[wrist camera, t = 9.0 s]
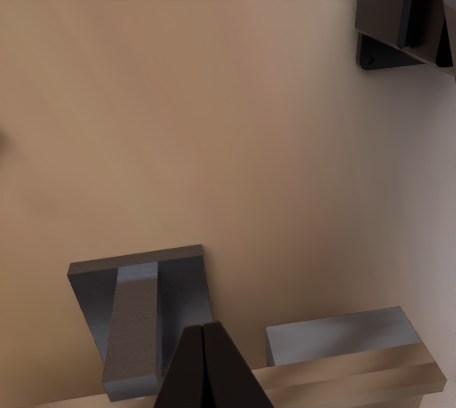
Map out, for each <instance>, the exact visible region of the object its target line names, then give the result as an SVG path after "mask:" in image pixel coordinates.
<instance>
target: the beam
mask: <svg viewBox="0 0 456 408" xmlns="http://www.w3.org/2000/svg"><path fill="white" fill-rule="evenodd" d="M266 353H267V367H266V368H260V369H254V370H251V371H252V372H253V374H254V376H255V377H256V379H257V380H258V382H259V384H260V385H261V387H262V388H263V390H264V392H265V393H266V395H267V396H268V398H269V399H270V401H271V403H272V404H273V406H274V407H275V408H419V406H420V403H421V400H422V398H423V395H424V394H430V393H436V392H442V391H443V389H444V386H445V384H446V381H447V379H446V377H445V376H444V374H443V373H442V371H441V370H440V368H439V366H438V365H437V363H436V362H435V360H434V359H433V357H432V356H431V354H430V352H429V351H428V349H427V348H426V346H425V345H424V343H423V341H422V340H421V338H420V337H419V335H418V334H417V332H416V331H415V329H414V327H413V326H412V324H411V323H410V321H409V320H408V318H407V317H406V315H405V313H404V312H403V310H402V309H401V307H400V306H398V307H391V308H385V309H379V310H372V311H366V312H359V313H353V314H347V315H340V316H334V317H327V318H321V319H315V320H308V321H302V322H295V323H289V324H283V325H276V326H270V327H266ZM157 395H158V394H157ZM157 395H151V396H145V397H140V398H134V399H128V400H122V401H116V402H110V400H109V398H108V395H107V393H106V394H100V395H94V396H88V397H82V398H76V399H70V400H63V401H57V402H51V403H45V404H39V405H33V406H27V407H21V408H153V406H154V403H155V400H156V398H157Z"/></svg>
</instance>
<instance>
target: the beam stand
mask: <svg viewBox="0 0 456 408" xmlns="http://www.w3.org/2000/svg"><path fill="white" fill-rule="evenodd" d="M67 276H68V279H69V281H70V283H71V286H72V288H73V290H74V293H75V295H76V297H77V300H78V302H79V305H80V307H81V309H82V312H83V314H84V316H85V319H86V321H87V323H88V326H89V328H90V331H91V333H92V335H93V338H94V340H95V342H96V345H97V347H98V350H99V352H100V354H101V357H102V359H103V361H104V364H105V366H104V373H103V380H102V384H103V386H104V389H105V391H106V393H107V395H108V398H109V400H110V402H116V401H122V400H128V399H134V398H140V397H145V396H151V395H157V394H158V393H159V390H160V387H161V385H162V382H163V380H164V377H165V374H166V372H167V369H168V366H169V364H170V361H171V359H172V356H173V353H174V351H175V348H176V346H177V343H178V340H179V338H180V335H181V333H182V330H183V328H184V327H185V326H187V325H193V324H201V325H202V326H203V324H204V323H205V322H212V321H213V320H212V313H211V307H210V300H209V293H208V286H207V280H206V273H205V266H204V260H203V253H202V246H201V245H194V246H187V247H180V248H173V249H166V250H159V251H153V252H146V253H139V254H132V255H125V256H118V257H111V258H105V259H98V260H91V261H84V262H77V263H70V267H69V270H68V273H67Z"/></svg>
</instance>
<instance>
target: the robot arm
mask: <svg viewBox="0 0 456 408" xmlns="http://www.w3.org/2000/svg"><path fill="white" fill-rule="evenodd" d="M355 28H356V29H357V30H358V31H359V35H358V45H357V55H356V63H357V65H358V66H359V67H361V68H362V69H364V70H375V69H383V68H392V67H400V66H409V65H417V64H425V63H426V64H428V65H431V66H433V67H435V68H437V69H439V70H442V71H444V72H446V73H448V74H450V75H453V76H455V80H456V0H358V2H357V12H356V22H355ZM369 54H371V59H370V61H369V62H367V63H365V62H364V60H365V57H366V56H367V55H369ZM153 408H275V407H274V406H273V404H272V403H271V401H270V399H269V398H268V396H267V395H266V393H265V392H264V390H263V388H262V387H261V385H260V384H259V382H258V380H257V379H256V377H255V376H254V374H253V372H252V371H251V369H250V368H249V366H248V365H247V363H246V361H245V360H244V358H243V357H242V355H241V353H240V352H239V350H238V349H237V347H236V345H235V344H234V342H233V341H232V339H231V338H230V336H229V334H228V333H227V331H226V330H225V328H224V326H223V325H222V323H221V322H220V321H212V322H205V323H204V324H203V326H202V325H201V324H193V325H187V326H185V327H184V328H183V330H182V333H181V335H180V338H179V340H178V343H177V346H176V348H175V351H174V353H173V356H172V359H171V361H170V364H169V366H168V369H167V372H166V374H165V377H164V380H163V382H162V385H161V387H160V390H159V393H158V395H157V398H156V400H155V403H154V406H153Z"/></svg>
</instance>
